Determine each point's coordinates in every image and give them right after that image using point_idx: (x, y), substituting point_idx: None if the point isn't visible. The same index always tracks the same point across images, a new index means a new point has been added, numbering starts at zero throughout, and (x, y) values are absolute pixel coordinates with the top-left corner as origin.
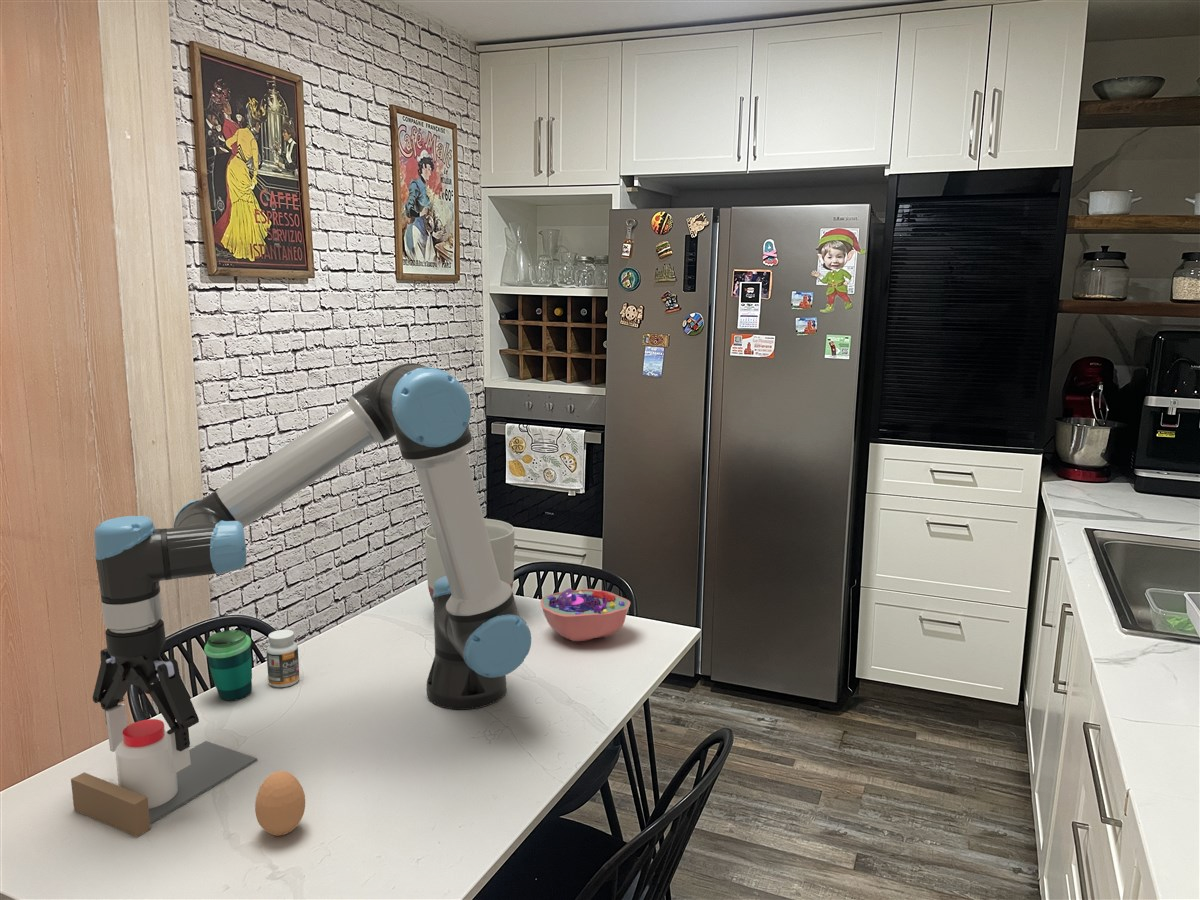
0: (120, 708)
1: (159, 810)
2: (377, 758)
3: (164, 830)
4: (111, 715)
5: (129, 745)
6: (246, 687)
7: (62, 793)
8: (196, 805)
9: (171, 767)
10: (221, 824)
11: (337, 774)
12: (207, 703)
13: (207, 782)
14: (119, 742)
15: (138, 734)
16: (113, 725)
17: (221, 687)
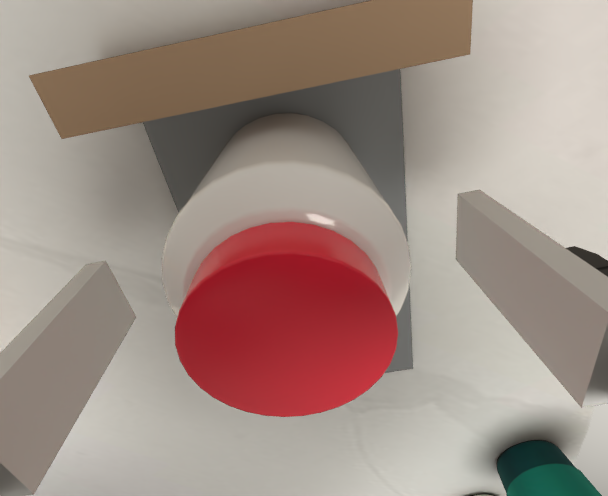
0: (579, 372)
1: (190, 173)
2: (98, 484)
3: (91, 139)
4: (577, 306)
5: (249, 231)
6: (504, 486)
7: (552, 23)
8: (162, 244)
9: (91, 273)
10: (30, 243)
11: (88, 438)
12: (552, 422)
13: None
14: (468, 233)
15: (226, 305)
16: (526, 267)
17: (545, 472)
